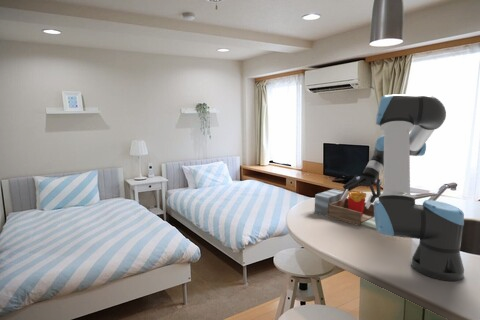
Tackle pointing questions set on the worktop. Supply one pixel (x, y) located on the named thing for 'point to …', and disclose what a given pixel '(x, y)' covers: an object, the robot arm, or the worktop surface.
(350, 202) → the french fries
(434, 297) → the worktop surface
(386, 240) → the worktop surface
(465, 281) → the worktop surface
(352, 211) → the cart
